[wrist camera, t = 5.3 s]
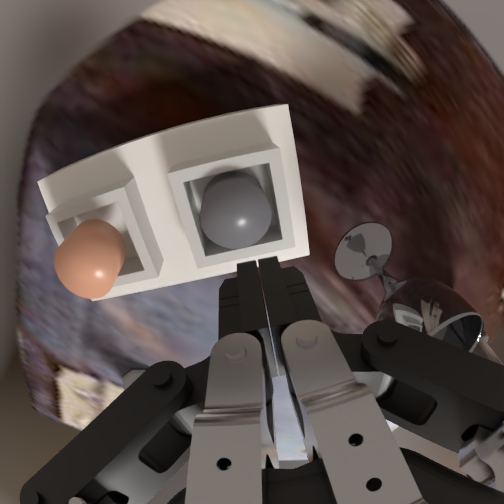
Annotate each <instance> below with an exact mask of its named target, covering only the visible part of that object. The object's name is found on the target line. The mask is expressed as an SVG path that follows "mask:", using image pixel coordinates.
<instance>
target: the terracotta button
mask: <svg viewBox="0 0 504 504" xmlns="http://www.w3.org/2000/svg"><path fill="white" fill-rule="evenodd" d="M125 259H126V245H125V242H124V239H123V237H122V236H121V234H120V233H119V232H118V230H117V229H116V228H115V227H113V226H112V225H111V224H109V223H107V222H105V221H103V220H99V219H89V220H86V221H83V222H82V223H80V224H79V225H78V226H77V227H76V228H75V229H74V230H73V231H72V232H71V233H70V235H69V236H68V237H67V238H66V239H65V240H64V241H63V242H62V243H61V244H60V246H59V247H58V248H57V250H56V252H55V256H54V266H55V270H56V273H57V275H58V277H59V279H60V280H61V282H62V283H63V284H64V285H65V287H66V288H68V289H69V290H70V291H71V292H73V293H74V294H76V295H78V296H80V297H83V298H88V299H96V298H101V297H103V296H105V295H106V294H107V293H108V292H109V291H110V290H111V288H112V286H113V284H114V282H115V280H116V278H117V276H118V274H119V272H120V270H121V268H122V266H123V264H124V262H125Z"/></svg>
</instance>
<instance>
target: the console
mask: <svg viewBox="0 0 504 504" xmlns="http://www.w3.org/2000/svg"><path fill="white" fill-rule="evenodd" d="M228 171H241V172H245V173H247V174H249V175H251V176H252V177H254V178H255V179H256V180H257V181H258V182H259V183H260V185H261V187H262V189H263V191H264V193H265V195H266V197H267V199H268V201H269V204H270V207H271V213H272V217H271V223H270V226H269V228H268V230H267V232H266V233H265V235H264V236H263V237H262V238H261V239H260V240H259V241H257V242H256V243H254V244H252V245H250V246H248V247H244V248H239V249H231V248H225V247H222V246H220V245H217V244H216V243H214V242H213V241H212V240H210V239H209V238H208V237H207V235H206V234H205V232H204V231H203V229H202V226H201V222H200V210H201V204H202V199H203V194H204V191H205V188H206V186H207V185H208V183H209V182H210V181H211V180H212V179H213V178H214V177H216V176H217V175H219V174H221V173H224V172H228ZM38 185H39V188H40V190H41V193H42V196H43V198H44V201H45V204H46V206H47V209H48V211H49V214H47V215H46V219H47V221H48V223H49V226H50V228H51V230H52V232H53V235H54V237H55V239H56V241H57V244H58V246H60V244H61V243H62V242H63V241H64V240H65V239H66V238H67V237H68V236H69V235H70V233H71V232H72V231H73V230H74V229H75V228H76V227H77V226H78V225H79V224H80V223H82V222H83V221H86V220H89V219H99V220H103V221H105V222H107V223H109V224H111V225H112V226H113V227H115V228H116V229H117V230H118V232H119V233H120V234H121V236H122V237H123V239H124V242H125V245H126V259H125V262H124V264H123V266H122V268H121V270H120V272H119V274H118V276H117V278H116V280H115V282H114V284H113V286H112V288H111V290H110V291H109V292H108V293H107V294H106V295H105V296H103V297H101V298H96V299H91V300H92V301H96V300H101V299H106V298H111V297H116V296H121V295H126V294H131V293H136V292H141V291H146V290H151V289H156V288H160V287H165V286H170V285H175V284H179V283H184V282H189V281H194V280H198V279H203V278H208V277H212V276H217V275H222V274H226V273H231V272H235V271H237V263H242V262H247V261H252V260H256V263H257V267H258V266H259V264H258V259H262V258H267V257H273V256H277V257H278V261H279V262H280V261H285V260H289V259H294V258H298V257H303V256H307V255H310V254H309V244H308V236H307V227H306V219H305V211H304V203H303V196H302V188H301V181H300V175H299V168H298V161H297V155H296V149H295V142H294V136H293V130H292V125H291V119H290V113H289V108H288V104H274V105H268V106H262V107H257V108H251V109H246V110H241V111H236V112H231V113H227V114H222V115H218V116H213V117H209V118H205V119H201V120H197V121H193V122H190V123H186V124H182V125H179V126H175V127H172V128H168V129H165V130H161V131H158V132H155V133H152V134H149V135H146V136H143V137H140V138H137V139H134V140H131V141H128V142H125V143H122V144H120V145H117V146H114V147H112V148H109V149H106V150H104V151H101V152H99V153H96V154H94V155H91V156H89V157H86V158H84V159H82V160H79V161H77V162H75V163H72V164H70V165H68V166H66V167H64V168H61V169H59V170H57V171H56V172H54V173H52V174H50V175H48V176H47V177H45V178H43V179H41V180H40V181H38Z"/></svg>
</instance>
